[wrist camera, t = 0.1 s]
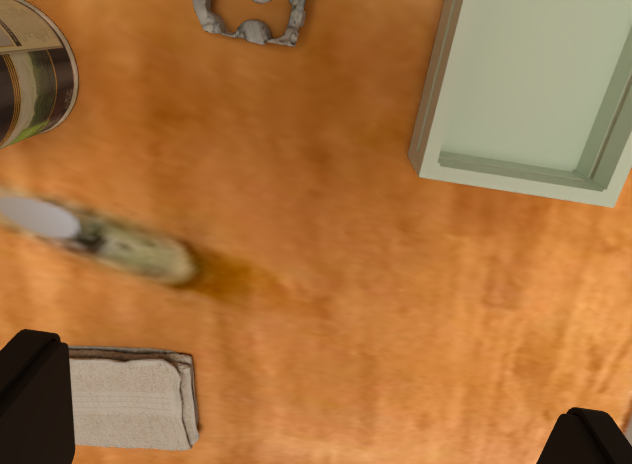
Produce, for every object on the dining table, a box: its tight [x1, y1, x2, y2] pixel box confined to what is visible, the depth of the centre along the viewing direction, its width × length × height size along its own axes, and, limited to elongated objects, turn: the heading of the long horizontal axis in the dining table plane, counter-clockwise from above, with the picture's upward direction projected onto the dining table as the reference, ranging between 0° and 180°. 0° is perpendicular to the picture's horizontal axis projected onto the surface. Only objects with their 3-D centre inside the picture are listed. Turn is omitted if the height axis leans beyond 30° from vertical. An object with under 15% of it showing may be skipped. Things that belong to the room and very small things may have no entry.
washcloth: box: [68, 346, 200, 451], centre depth 49 cm, size 12×18×3 cm, turn 90°
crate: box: [408, 0, 632, 208], centre depth 33 cm, size 18×14×6 cm
